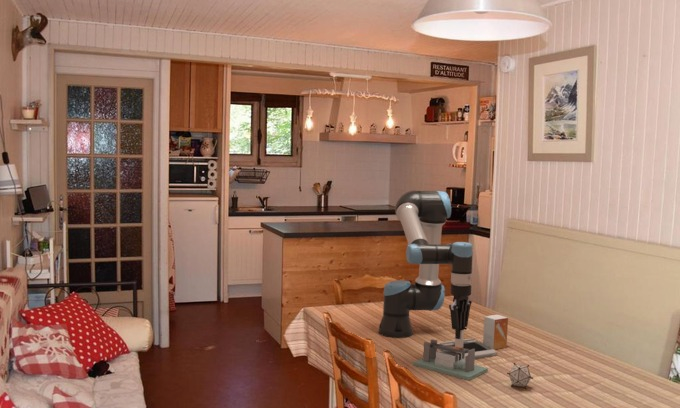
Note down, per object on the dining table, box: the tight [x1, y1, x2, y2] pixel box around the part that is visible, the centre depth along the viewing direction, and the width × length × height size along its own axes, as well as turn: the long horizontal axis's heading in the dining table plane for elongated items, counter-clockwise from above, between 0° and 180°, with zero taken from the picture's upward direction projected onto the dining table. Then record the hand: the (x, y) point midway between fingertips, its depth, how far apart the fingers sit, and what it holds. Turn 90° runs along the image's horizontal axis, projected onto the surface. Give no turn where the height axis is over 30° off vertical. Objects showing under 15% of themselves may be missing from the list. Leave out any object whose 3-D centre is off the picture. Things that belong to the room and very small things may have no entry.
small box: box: [482, 314, 509, 350], centre depth 280 cm, size 8×6×13 cm
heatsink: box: [435, 349, 465, 370], centre depth 251 cm, size 8×9×6 cm
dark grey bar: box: [430, 342, 469, 354], centre depth 251 cm, size 17×3×2 cm, turn 50°
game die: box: [506, 362, 534, 390], centre depth 233 cm, size 9×8×10 cm
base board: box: [412, 338, 489, 381], centre depth 250 cm, size 24×14×9 cm, turn 50°
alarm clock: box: [439, 337, 498, 360], centre depth 271 cm, size 17×5×16 cm
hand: (459, 346), depth 248 cm, fingers closed
